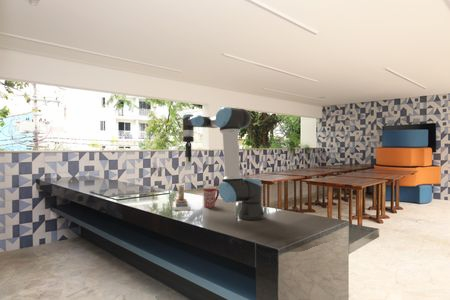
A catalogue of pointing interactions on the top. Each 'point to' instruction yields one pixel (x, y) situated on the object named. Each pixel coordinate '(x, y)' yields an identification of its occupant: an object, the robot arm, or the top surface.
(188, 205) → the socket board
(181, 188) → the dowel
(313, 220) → the top surface
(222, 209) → the top surface
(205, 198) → the mug
